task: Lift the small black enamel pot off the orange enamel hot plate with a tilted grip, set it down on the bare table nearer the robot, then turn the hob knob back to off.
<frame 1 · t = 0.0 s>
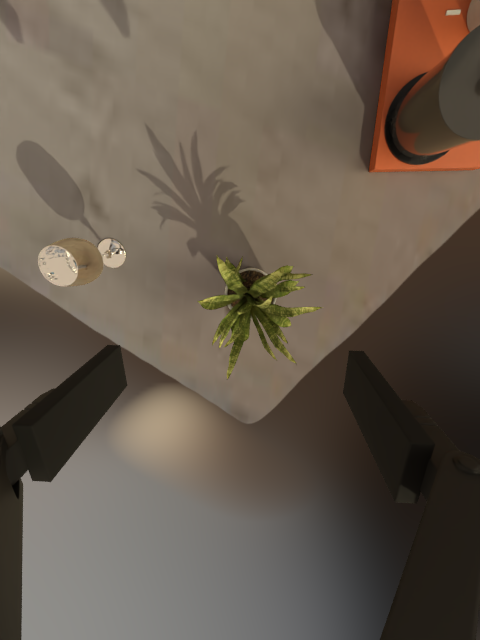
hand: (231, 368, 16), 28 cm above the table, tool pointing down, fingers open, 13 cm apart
house plant: (253, 292, 43), on the table
hot plate: (436, 85, 33), on the table
wineglass: (112, 253, 42), on the table
burner: (425, 120, 32), resting on hot plate
enamel pot: (426, 119, 32), point 2 cm above the table, touching burner
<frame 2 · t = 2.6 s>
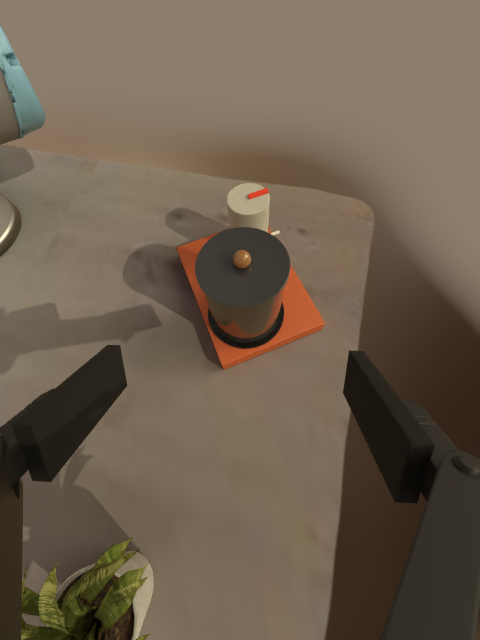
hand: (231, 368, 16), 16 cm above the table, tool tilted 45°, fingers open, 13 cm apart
house plant: (133, 601, 25), on the table
hot plate: (245, 290, 37), on the table
hob knob: (248, 221, 34), point 6 cm above the table, hinge at 90.0°
burner: (245, 312, 33), resting on hot plate
enamel pot: (245, 311, 33), point 2 cm above the table, touching burner
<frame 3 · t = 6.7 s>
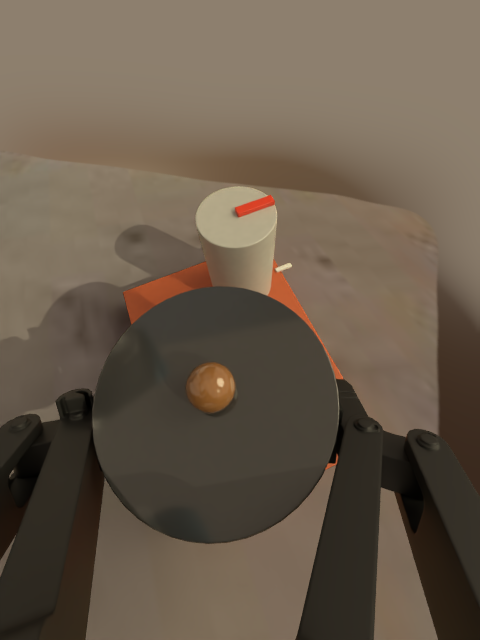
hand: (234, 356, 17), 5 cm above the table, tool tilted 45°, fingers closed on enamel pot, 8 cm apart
hot plate: (235, 363, 22), on the table
hob knob: (239, 254, 19), point 6 cm above the table, hinge at 90.0°
enamel pot: (234, 417, 18), point 2 cm above the table, touching burner, gripper
when the fingers open (3 cm above the table, at t = 16.5 s): enamel pot stays where it is, on the table.
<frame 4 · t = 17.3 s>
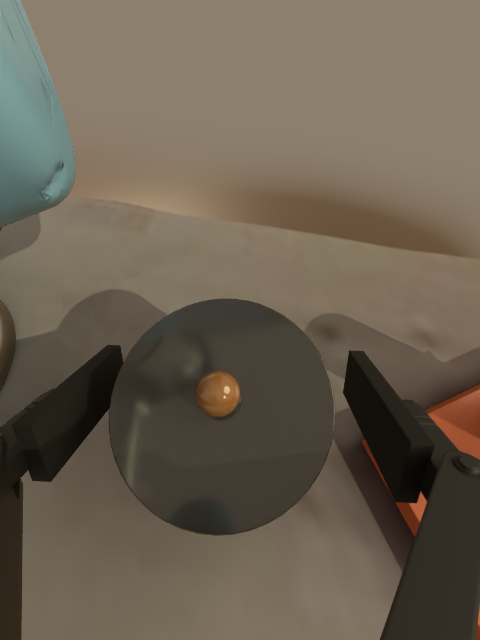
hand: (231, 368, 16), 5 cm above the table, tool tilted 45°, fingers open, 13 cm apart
enamel pot: (237, 419, 19), on the table
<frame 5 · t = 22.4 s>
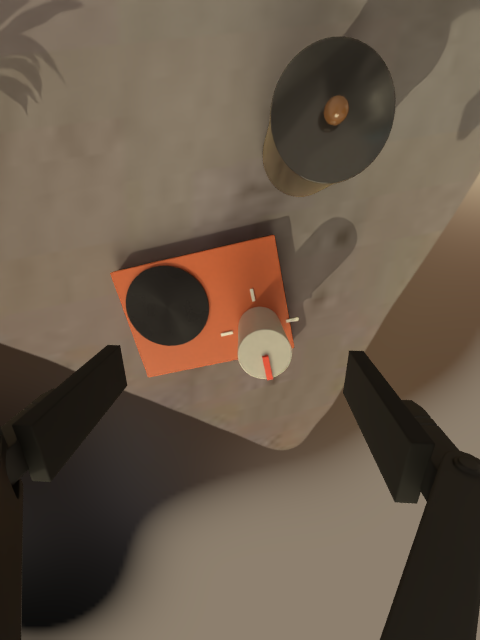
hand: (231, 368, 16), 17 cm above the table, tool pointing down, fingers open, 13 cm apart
hot plate: (208, 307, 33), on the table
hob knob: (261, 339, 28), point 6 cm above the table, hinge at 90.0°
burner: (168, 307, 31), resting on hot plate
enamel pot: (301, 154, 28), on the table
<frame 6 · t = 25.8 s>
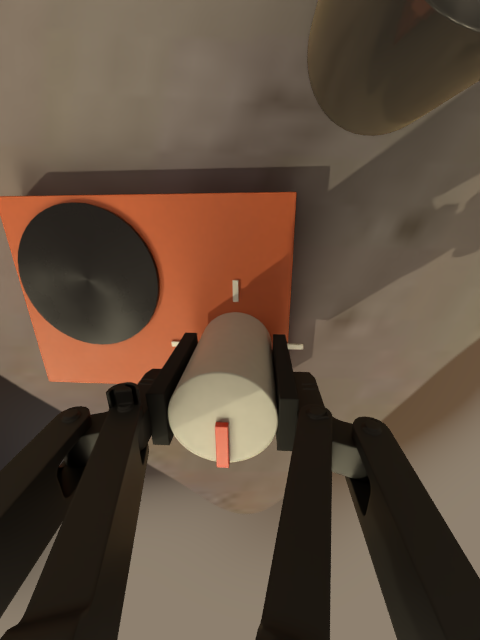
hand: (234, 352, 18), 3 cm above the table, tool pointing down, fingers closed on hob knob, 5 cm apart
hot plate: (163, 293, 20), on the table
hob knob: (230, 375, 15), point 6 cm above the table, hinge at 90.0°, touching gripper
burner: (90, 279, 18), resting on hot plate
enamel pot: (384, 46, 14), on the table
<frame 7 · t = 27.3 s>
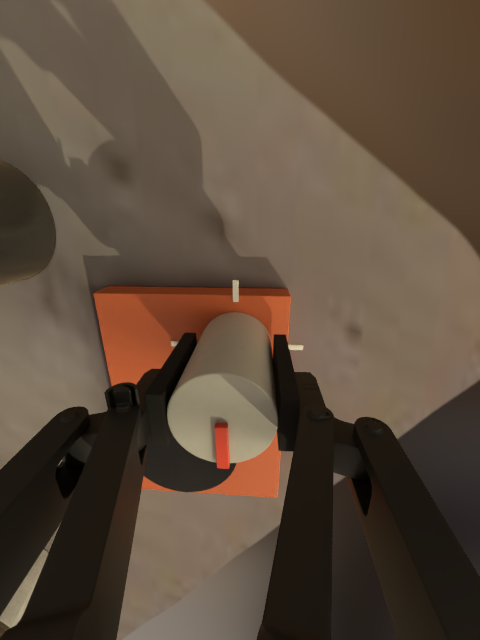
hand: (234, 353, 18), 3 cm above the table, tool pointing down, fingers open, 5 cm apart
house plant: (38, 561, 33), on the table
hot plate: (202, 393, 23), on the table
hob knob: (230, 376, 15), point 6 cm above the table, hinge at 0.9°
burner: (182, 448, 22), resting on hot plate
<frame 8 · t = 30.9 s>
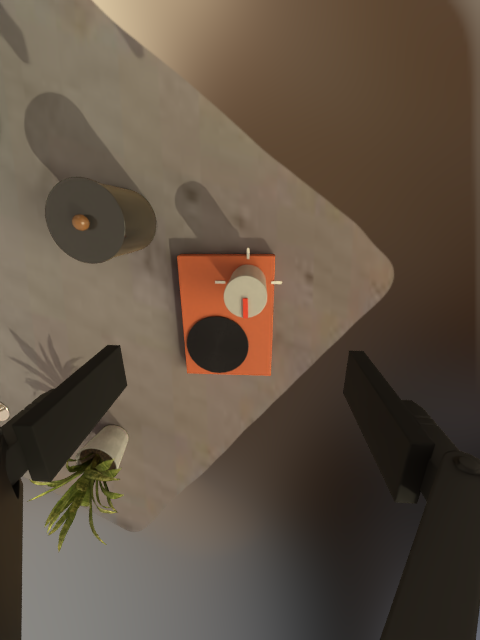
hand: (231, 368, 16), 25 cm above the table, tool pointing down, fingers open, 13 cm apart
house plant: (118, 440, 52), on the table
hot plate: (228, 315, 41), on the table
hob knob: (246, 289, 33), point 6 cm above the table, hinge at 0.9°
burner: (217, 345, 41), resting on hot plate
enamel pot: (127, 221, 37), on the table
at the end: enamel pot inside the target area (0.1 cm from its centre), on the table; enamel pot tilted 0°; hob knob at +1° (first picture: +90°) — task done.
